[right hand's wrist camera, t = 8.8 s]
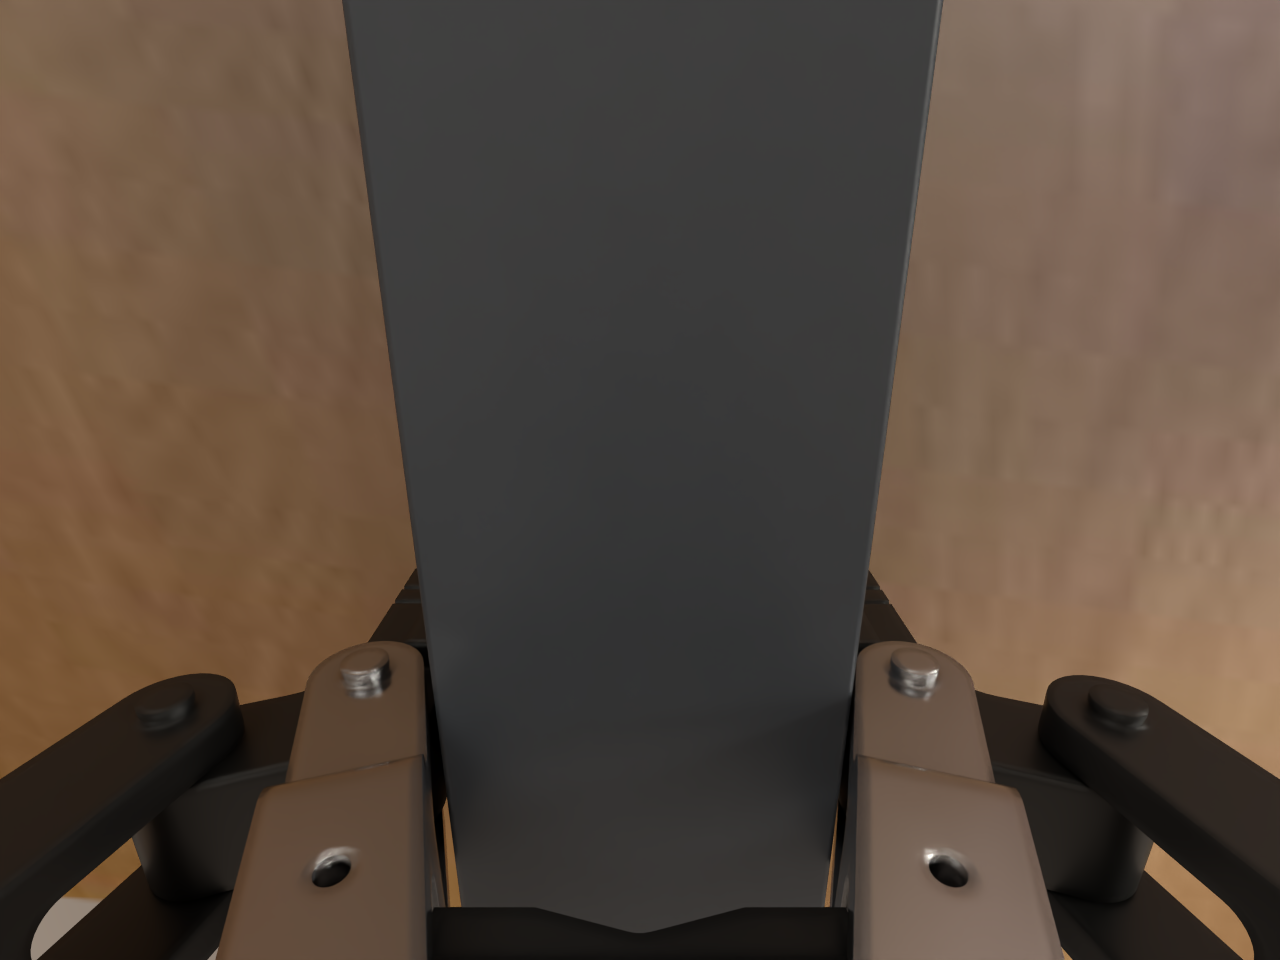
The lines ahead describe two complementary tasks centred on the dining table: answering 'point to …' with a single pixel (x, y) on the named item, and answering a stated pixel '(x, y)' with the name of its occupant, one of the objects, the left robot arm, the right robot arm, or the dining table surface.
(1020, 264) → the dining table surface
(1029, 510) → the dining table surface
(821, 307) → the bar
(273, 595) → the dining table surface
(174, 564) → the dining table surface
